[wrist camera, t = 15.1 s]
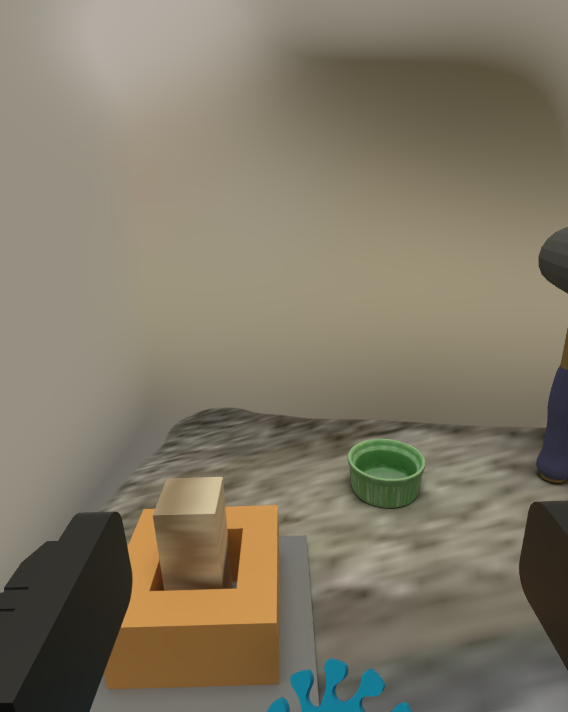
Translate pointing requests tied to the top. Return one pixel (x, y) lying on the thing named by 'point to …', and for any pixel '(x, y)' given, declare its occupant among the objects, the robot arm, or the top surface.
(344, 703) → the gear
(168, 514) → the tall wooden block
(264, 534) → the orange square frame
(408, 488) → the ramekin
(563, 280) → the rubber mallet
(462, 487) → the top surface
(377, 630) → the top surface
